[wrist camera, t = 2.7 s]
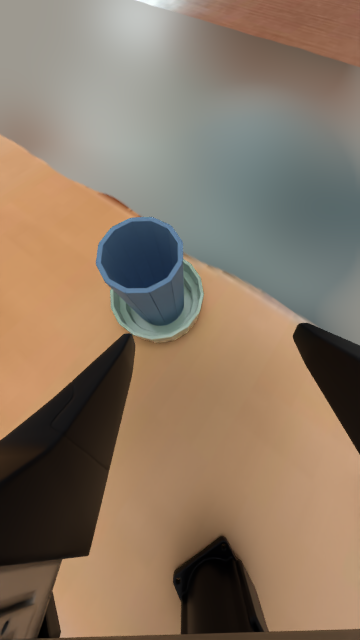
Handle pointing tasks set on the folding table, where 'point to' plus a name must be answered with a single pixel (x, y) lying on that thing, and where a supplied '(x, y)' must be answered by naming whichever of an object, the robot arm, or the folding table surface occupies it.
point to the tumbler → (145, 267)
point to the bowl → (172, 330)
